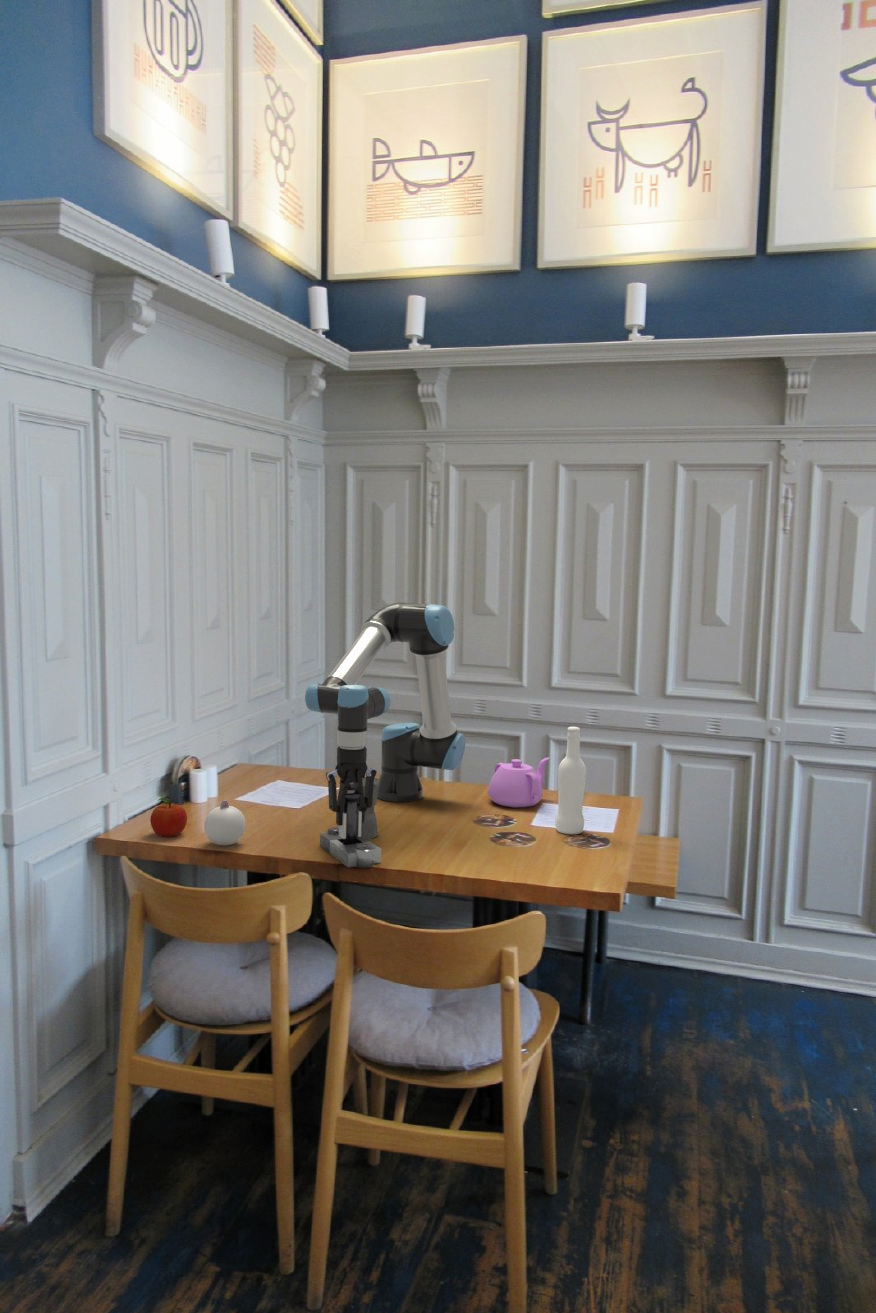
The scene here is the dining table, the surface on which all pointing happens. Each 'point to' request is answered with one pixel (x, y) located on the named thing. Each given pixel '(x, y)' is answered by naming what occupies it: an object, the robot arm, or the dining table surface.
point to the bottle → (571, 787)
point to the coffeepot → (369, 812)
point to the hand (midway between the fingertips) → (350, 835)
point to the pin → (351, 816)
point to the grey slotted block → (350, 849)
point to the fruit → (168, 819)
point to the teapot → (517, 784)
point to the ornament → (224, 824)
